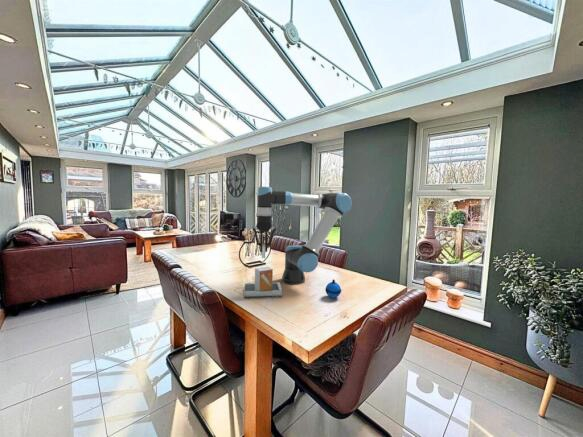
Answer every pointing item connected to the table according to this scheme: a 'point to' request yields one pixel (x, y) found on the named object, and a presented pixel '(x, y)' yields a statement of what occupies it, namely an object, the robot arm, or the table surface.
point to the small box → (263, 279)
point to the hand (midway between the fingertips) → (263, 257)
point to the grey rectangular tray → (252, 293)
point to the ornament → (333, 289)
